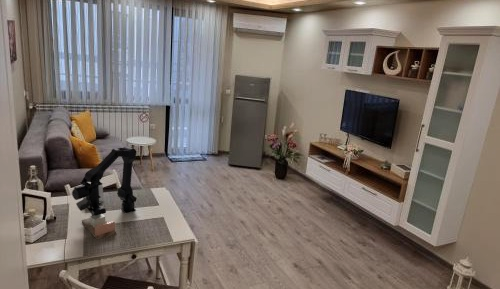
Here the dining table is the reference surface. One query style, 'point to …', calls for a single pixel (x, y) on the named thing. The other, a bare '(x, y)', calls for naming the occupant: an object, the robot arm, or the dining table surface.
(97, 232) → the brown boxy piece
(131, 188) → the robot arm
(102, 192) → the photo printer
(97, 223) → the pale sage green cube
